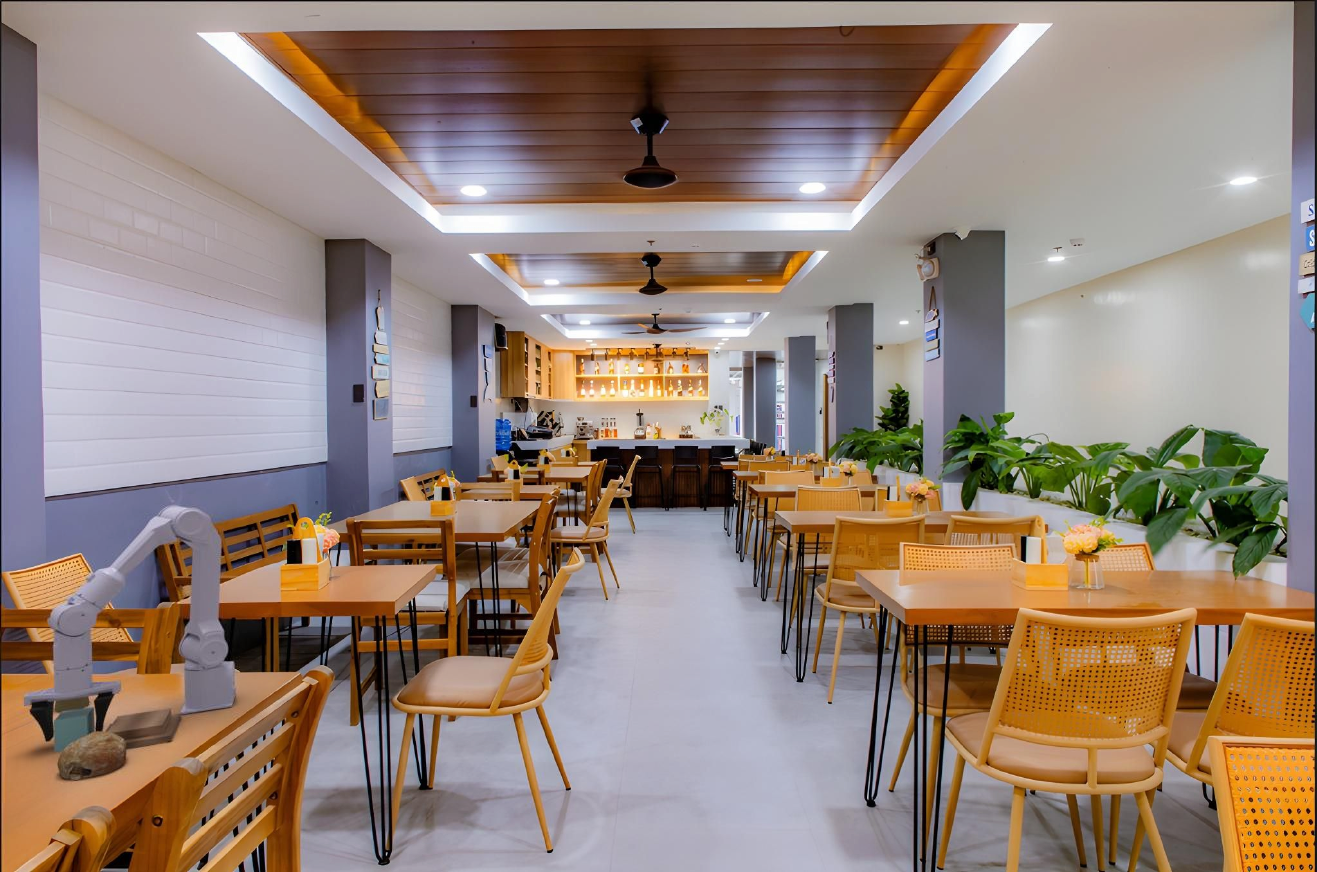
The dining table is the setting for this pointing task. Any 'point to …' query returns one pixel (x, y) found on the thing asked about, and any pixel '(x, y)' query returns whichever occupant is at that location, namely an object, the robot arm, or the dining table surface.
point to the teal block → (72, 726)
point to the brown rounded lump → (92, 756)
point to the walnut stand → (146, 727)
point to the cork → (71, 704)
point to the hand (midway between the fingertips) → (74, 735)
